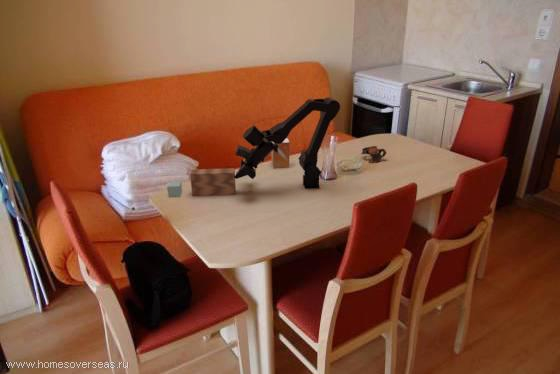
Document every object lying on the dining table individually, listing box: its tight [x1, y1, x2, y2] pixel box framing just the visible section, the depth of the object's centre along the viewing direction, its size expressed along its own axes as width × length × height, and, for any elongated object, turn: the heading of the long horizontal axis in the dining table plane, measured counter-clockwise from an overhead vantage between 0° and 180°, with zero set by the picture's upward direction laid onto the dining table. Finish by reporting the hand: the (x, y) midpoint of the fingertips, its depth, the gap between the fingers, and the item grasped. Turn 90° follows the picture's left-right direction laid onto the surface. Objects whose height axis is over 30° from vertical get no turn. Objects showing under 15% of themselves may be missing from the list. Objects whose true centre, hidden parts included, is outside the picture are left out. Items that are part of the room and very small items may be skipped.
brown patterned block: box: [189, 167, 237, 197], centre depth 183 cm, size 18×5×10 cm, turn 93°
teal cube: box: [166, 181, 183, 198], centre depth 183 cm, size 5×5×5 cm
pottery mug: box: [361, 145, 387, 164], centre depth 217 cm, size 12×10×8 cm
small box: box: [270, 137, 290, 169], centre depth 209 cm, size 8×6×13 cm
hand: (235, 177), depth 182 cm, fingers closed, pressing on brown patterned block
